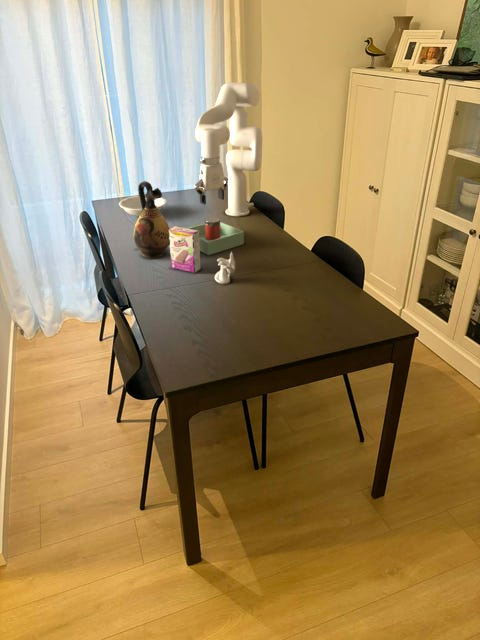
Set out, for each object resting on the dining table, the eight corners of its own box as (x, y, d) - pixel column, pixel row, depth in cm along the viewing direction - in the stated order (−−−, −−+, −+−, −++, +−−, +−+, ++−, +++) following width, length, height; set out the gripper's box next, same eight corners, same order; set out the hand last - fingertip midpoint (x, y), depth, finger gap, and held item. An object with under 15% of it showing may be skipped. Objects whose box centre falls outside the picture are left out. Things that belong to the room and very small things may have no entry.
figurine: (211, 279, 188) (210, 249, 182) (229, 274, 191) (229, 246, 185) (224, 290, 180) (224, 260, 174) (242, 286, 183) (243, 256, 177)
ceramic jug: (179, 253, 209) (175, 183, 194) (150, 264, 199) (143, 191, 184) (154, 243, 219) (148, 175, 204) (125, 253, 209) (117, 182, 194)
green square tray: (217, 231, 231) (216, 220, 228) (243, 244, 218) (244, 231, 215) (182, 241, 220) (181, 229, 218) (208, 255, 208) (208, 242, 205)
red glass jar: (214, 237, 223) (213, 216, 218) (223, 241, 219) (223, 220, 214) (202, 240, 219) (201, 219, 214) (211, 245, 215) (211, 223, 210)
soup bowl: (177, 212, 255) (176, 200, 252) (146, 226, 238) (144, 212, 234) (142, 204, 266) (141, 192, 263) (110, 217, 249) (108, 204, 246)
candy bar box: (170, 268, 196) (167, 229, 187) (177, 264, 200) (174, 225, 191) (195, 273, 192) (193, 234, 183) (201, 269, 196) (199, 229, 187)
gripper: (199, 166, 194) (201, 208, 203) (232, 158, 203) (233, 199, 212) (188, 162, 199) (190, 203, 208) (221, 155, 208) (222, 195, 217)
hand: (212, 201), depth 210 cm, fingers open, 9 cm apart
